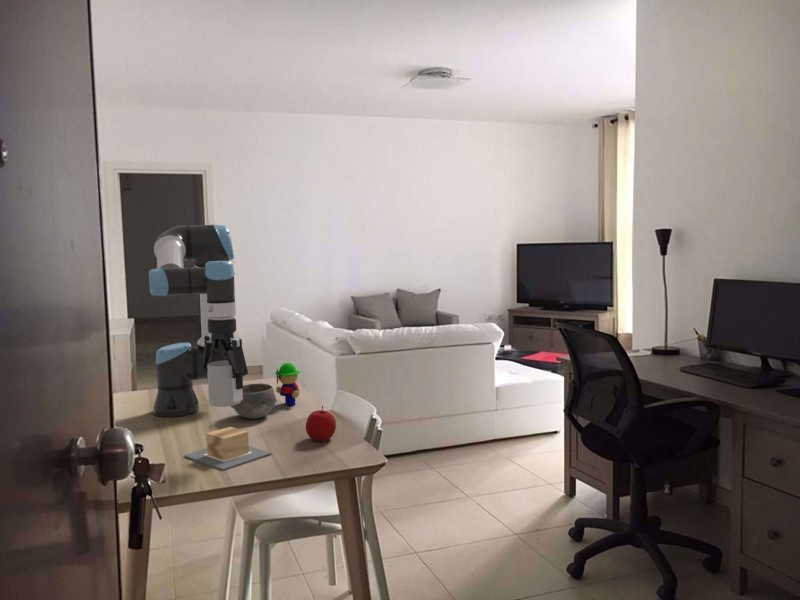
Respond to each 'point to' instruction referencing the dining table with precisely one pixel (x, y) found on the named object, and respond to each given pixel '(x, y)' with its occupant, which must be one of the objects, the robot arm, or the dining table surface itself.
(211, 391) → the mug
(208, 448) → the oak block
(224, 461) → the grey rectangular mat
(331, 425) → the apple
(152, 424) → the dining table surface
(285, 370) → the toy
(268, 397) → the bowl
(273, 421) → the dining table surface
